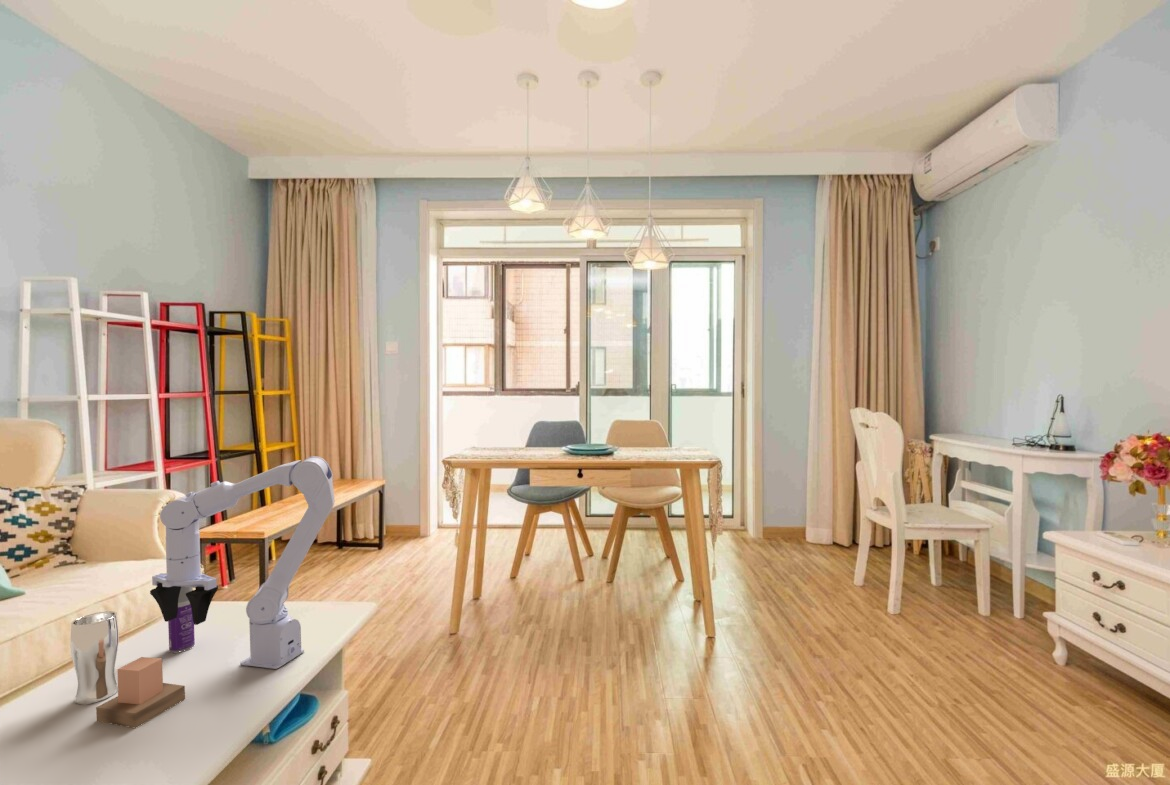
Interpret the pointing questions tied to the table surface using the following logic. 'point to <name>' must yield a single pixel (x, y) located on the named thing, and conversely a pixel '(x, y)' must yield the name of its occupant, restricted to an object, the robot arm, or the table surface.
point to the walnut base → (140, 707)
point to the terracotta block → (140, 680)
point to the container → (182, 625)
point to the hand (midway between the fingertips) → (185, 621)
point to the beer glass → (95, 655)
